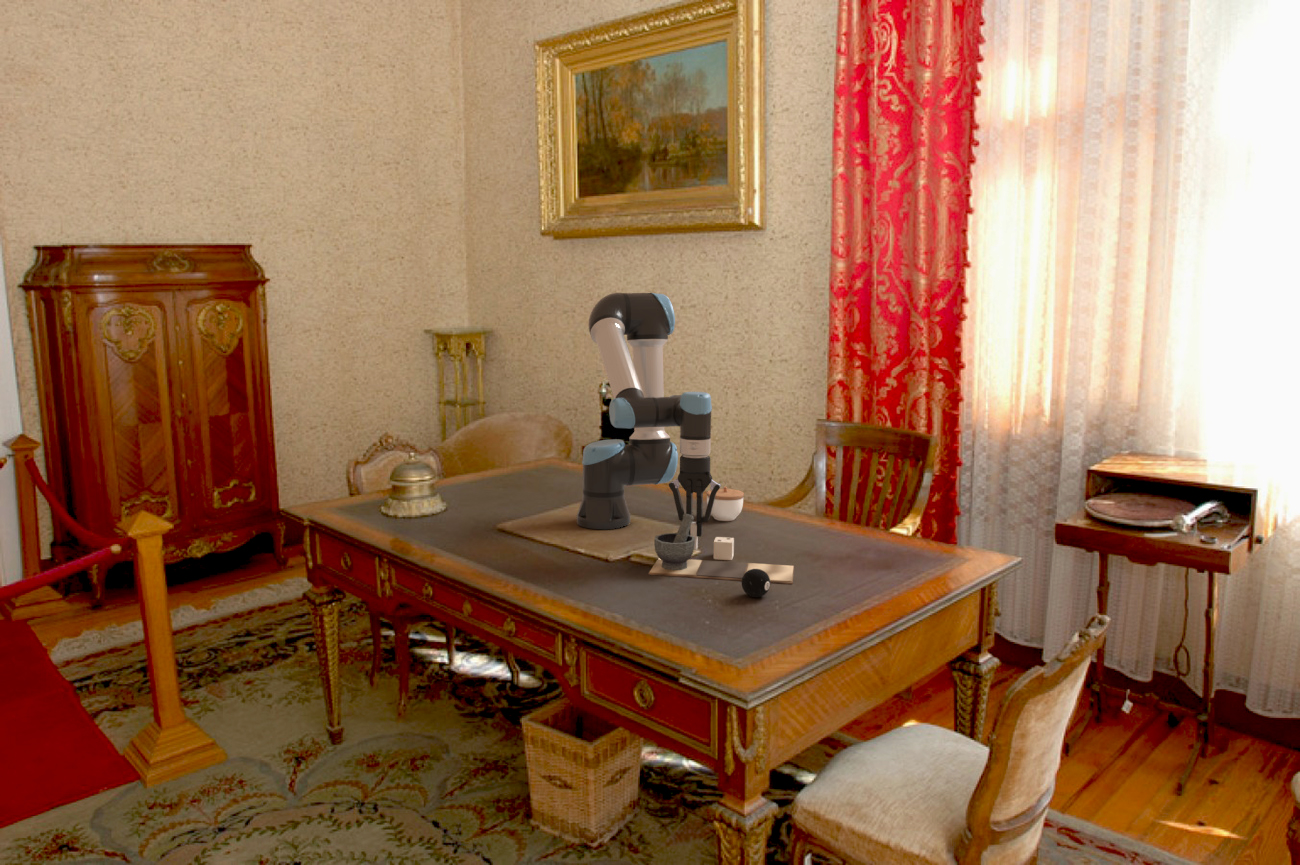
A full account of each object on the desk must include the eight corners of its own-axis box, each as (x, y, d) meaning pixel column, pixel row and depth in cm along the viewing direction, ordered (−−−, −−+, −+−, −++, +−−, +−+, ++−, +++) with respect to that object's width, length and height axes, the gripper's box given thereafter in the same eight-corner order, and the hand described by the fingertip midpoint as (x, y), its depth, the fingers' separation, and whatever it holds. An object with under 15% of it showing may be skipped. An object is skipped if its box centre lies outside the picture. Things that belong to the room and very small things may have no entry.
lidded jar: (743, 514, 267) (743, 483, 266) (743, 523, 257) (744, 491, 255) (706, 513, 268) (707, 482, 267) (705, 522, 258) (706, 490, 256)
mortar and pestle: (676, 575, 207) (677, 524, 205) (645, 567, 213) (646, 517, 211) (706, 564, 216) (707, 515, 214) (676, 556, 222) (676, 509, 220)
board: (648, 574, 209) (648, 572, 209) (658, 558, 222) (658, 556, 222) (792, 584, 203) (792, 581, 203) (794, 567, 216) (794, 565, 216)
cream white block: (713, 559, 222) (713, 541, 221) (715, 554, 226) (716, 536, 226) (731, 560, 221) (732, 542, 220) (733, 555, 226) (734, 537, 225)
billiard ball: (751, 590, 199) (752, 563, 198) (774, 595, 195) (775, 569, 194) (736, 596, 194) (736, 569, 193) (759, 602, 191) (760, 575, 190)
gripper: (666, 456, 219) (665, 551, 222) (719, 458, 217) (718, 554, 220) (671, 451, 226) (670, 543, 230) (723, 453, 224) (721, 546, 227)
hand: (693, 548), depth 225 cm, fingers closed
